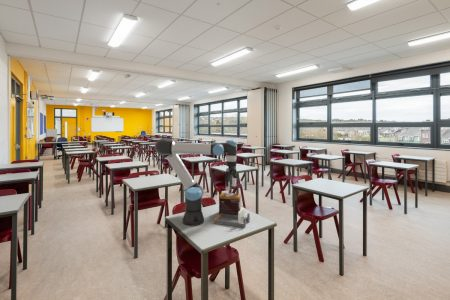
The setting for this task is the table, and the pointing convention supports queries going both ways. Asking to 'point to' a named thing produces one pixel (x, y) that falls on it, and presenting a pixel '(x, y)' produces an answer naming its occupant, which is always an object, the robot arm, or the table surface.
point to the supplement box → (229, 203)
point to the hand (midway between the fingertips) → (230, 188)
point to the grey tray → (231, 220)
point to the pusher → (241, 216)
